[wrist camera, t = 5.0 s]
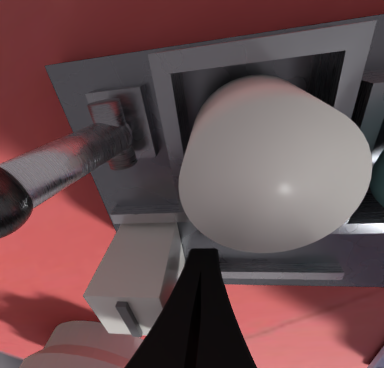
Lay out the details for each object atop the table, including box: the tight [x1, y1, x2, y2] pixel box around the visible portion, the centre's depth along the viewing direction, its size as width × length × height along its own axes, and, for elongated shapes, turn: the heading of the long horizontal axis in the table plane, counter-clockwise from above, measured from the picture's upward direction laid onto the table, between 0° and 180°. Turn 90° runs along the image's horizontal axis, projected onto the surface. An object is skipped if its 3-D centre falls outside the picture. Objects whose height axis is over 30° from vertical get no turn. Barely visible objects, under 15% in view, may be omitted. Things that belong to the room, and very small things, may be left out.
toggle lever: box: [0, 98, 137, 238], centre depth 6 cm, size 2×2×5 cm
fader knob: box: [83, 222, 185, 337], centre depth 10 cm, size 3×3×4 cm
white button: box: [178, 75, 372, 253], centre depth 6 cm, size 4×4×3 cm
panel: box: [45, 14, 384, 287], centre depth 10 cm, size 13×17×3 cm
